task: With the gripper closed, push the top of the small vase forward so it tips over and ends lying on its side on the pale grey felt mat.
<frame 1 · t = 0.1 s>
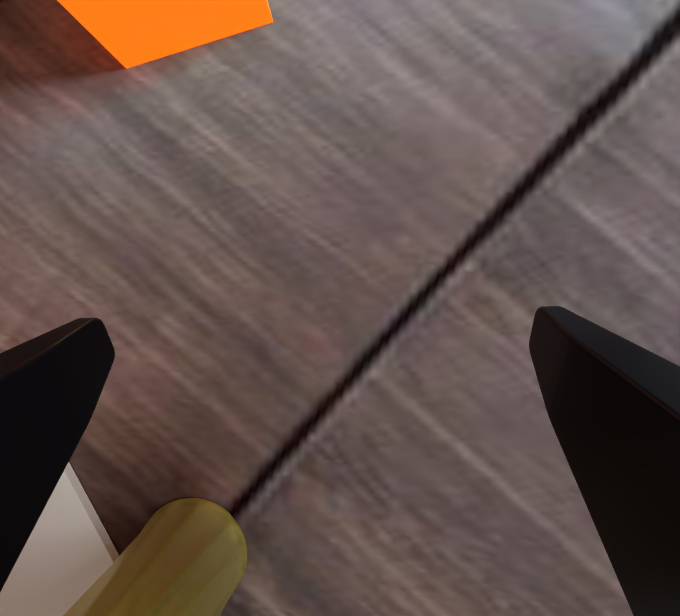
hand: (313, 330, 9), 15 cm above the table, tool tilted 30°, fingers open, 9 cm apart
vase: (196, 548, 25), on the table
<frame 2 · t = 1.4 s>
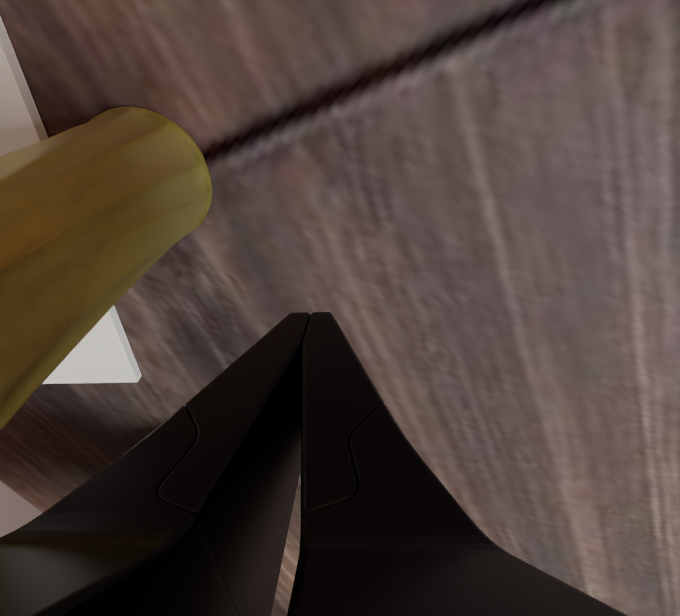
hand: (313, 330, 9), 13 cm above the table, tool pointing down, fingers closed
vase: (149, 176, 21), on the table
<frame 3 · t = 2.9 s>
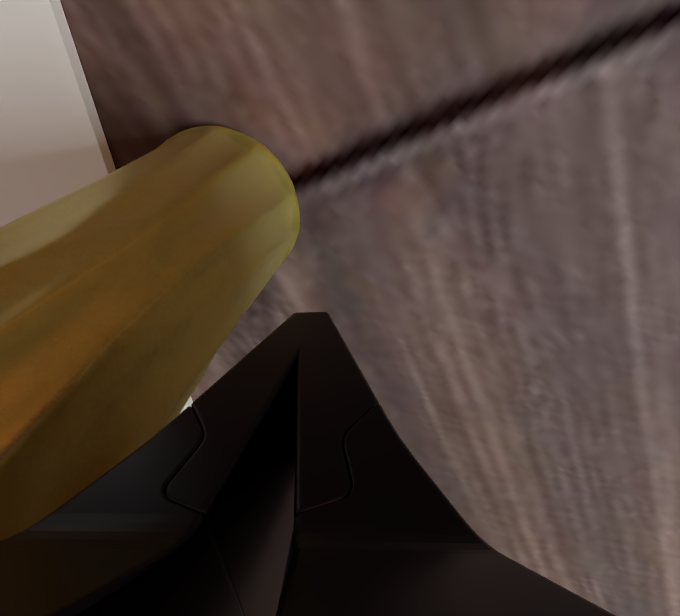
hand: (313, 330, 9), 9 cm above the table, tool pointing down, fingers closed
vase: (226, 206, 17), on the table, touching gripper
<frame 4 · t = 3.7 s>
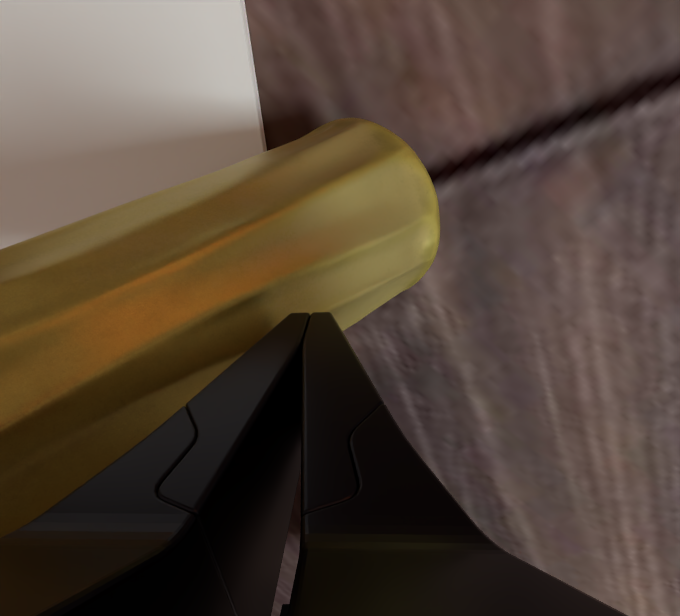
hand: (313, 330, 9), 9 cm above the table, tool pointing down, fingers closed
mat: (125, 207, 17), on the table
vase: (366, 209, 15), point 2 cm above the table
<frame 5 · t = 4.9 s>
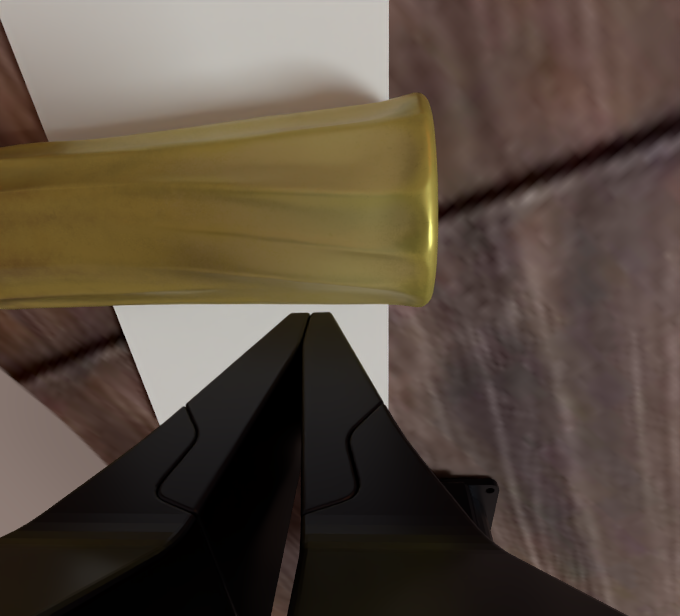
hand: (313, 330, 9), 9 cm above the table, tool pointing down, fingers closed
mat: (232, 198, 17), on the table
vase: (433, 203, 13), point 3 cm above the table, touching mat
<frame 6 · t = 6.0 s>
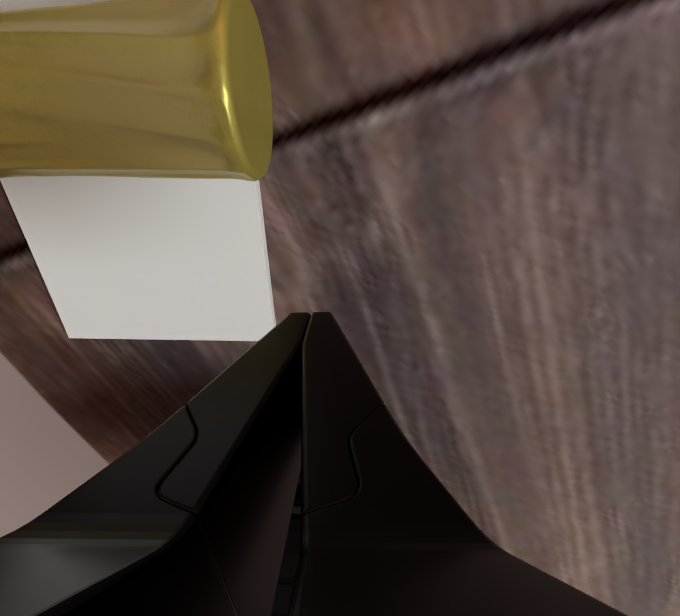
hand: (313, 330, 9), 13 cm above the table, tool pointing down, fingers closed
mat: (114, 109, 19), on the table
vase: (260, 89, 15), point 3 cm above the table, touching mat
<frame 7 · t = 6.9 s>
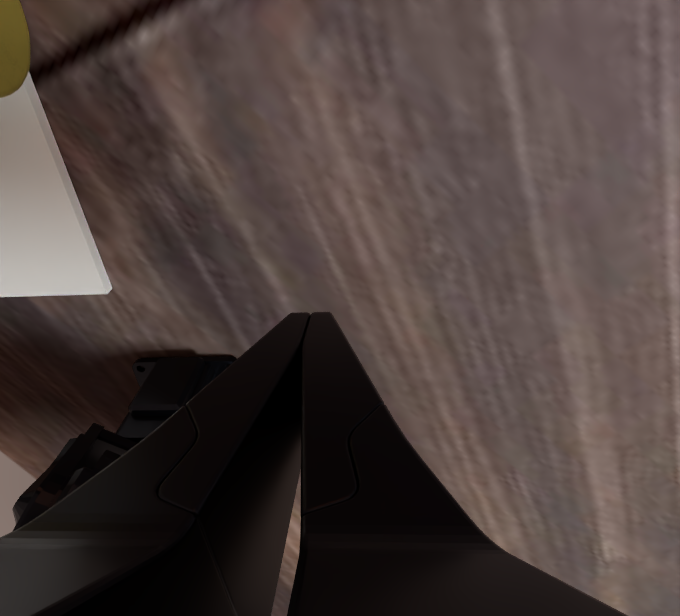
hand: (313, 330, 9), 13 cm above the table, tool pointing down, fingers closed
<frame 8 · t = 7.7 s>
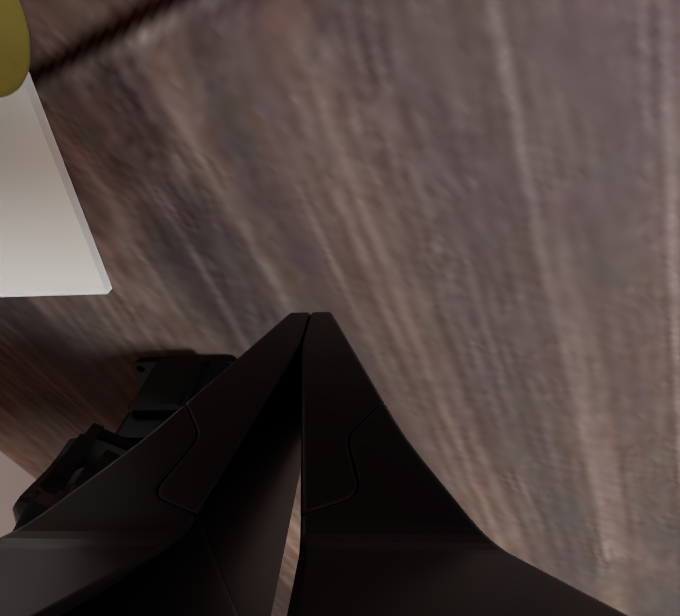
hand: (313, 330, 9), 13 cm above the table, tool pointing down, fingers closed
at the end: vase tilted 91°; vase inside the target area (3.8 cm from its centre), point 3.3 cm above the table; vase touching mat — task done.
